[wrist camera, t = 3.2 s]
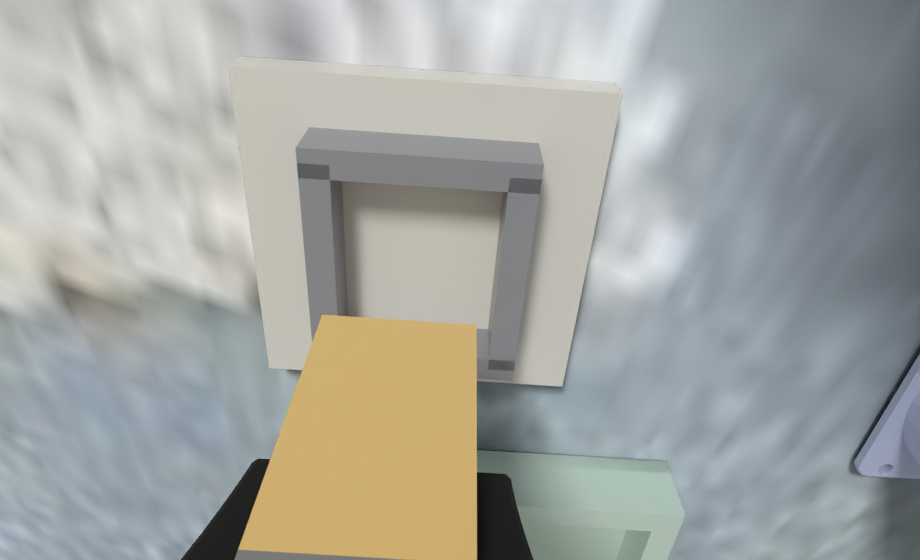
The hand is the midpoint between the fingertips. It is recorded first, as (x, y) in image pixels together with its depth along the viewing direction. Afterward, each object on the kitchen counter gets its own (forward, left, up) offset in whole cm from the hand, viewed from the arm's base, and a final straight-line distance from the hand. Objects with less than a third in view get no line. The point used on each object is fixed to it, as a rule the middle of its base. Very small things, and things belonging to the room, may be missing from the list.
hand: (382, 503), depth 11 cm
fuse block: (0, 0, -10) cm, 10 cm away
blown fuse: (0, 0, -3) cm, 3 cm away
